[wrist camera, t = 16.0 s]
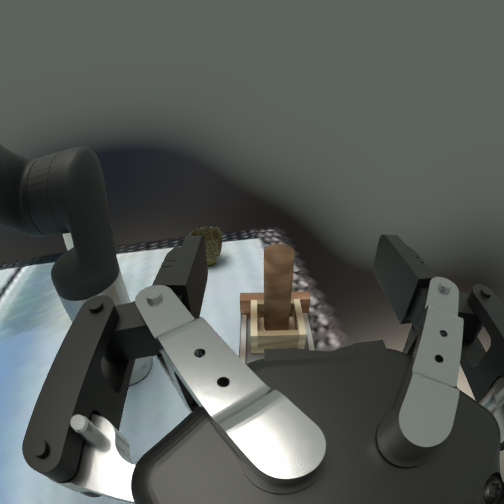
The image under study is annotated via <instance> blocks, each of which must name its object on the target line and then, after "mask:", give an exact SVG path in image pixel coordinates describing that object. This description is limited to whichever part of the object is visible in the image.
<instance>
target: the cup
mask: <svg viewBox="0 0 504 504" xmlns="http://www.w3.org/2000/svg"><path fill="white" fill-rule="evenodd" d="M189 236H203V237H204V242H205V250H206V259H207V266H211V265H214V264H215V263H216V258H217V257H218V256H219V255H220V252H221V247H222V233H221V231H220V229H218V227H215V228H214V229H213V227H210V230H209V228H207V227H205V228H203V227H201V228H200V231H199V230H198V228H197V229H196V231H193V230H192V231H191V234H189Z"/></svg>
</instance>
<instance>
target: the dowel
mask: <svg viewBox="0 0 504 504" xmlns="http://www.w3.org/2000/svg"><path fill="white" fill-rule="evenodd" d="M293 266H294V249H293V248H292V247H290V246H288V245H284V244H273V245H270V246H268V247H266V248H265V249H264V329H265V331H277V330H288V328H289V317H290V306H291V293H292V280H293Z"/></svg>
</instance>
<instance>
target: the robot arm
mask: <svg viewBox="0 0 504 504" xmlns="http://www.w3.org/2000/svg"><path fill="white" fill-rule="evenodd" d="M0 224H2V225H4V226H7V227H9V228H12V229H14V230H17V231H19V232H22V233H25V234H28V235H32V236H38V237H46V236H52V235H59V234H66V233H71V237H72V241H73V246H74V247H73V248H71V249H70V250H68V251H67V252H65V253H64V254H63V255H62V256H61V257H60V258H59V259H58V260H57V261H56V262H55V264H54V265H53V268H52V271H51V277H52V281H53V284H54V286H55V288H56V291H57V293H58V295H59V297H60V299H61V301H62V304H63V306H64V308H65V310H66V312H67V314H68V316H69V317H70V319H71V321H72V325H71V327H70V329H69V331H68V333H67V334H66V336H65V338H64V340H63V342H62V345H61V347H60V349H59V351H58V353H57V355H56V357H55V359H54V361H53V364H52V366H51V368H50V370H49V373H48V375H47V377H46V380H45V382H44V384H43V387H42V389H41V392H40V394H39V397H38V399H37V402H36V405H35V407H34V410H33V413H32V416H31V419H30V422H29V425H28V428H27V431H26V434H25V437H24V440H23V446H22V450H23V455H24V458H25V460H26V462H27V463H28V465H29V466H30V467H31V468H33V469H34V470H36V471H37V472H39V473H41V474H43V475H45V476H47V477H48V478H49V479H50V480H52V481H54V482H56V483H58V484H60V485H62V486H64V487H66V488H68V489H70V490H73V491H75V492H80V493H82V494H84V495H87V496H90V497H99V496H105V497H109V498H113V499H117V500H120V501H125V502H129V503H133V504H504V483H503V481H502V478H501V474H500V460H499V459H500V451H502V450H504V305H503V304H502V303H501V301H500V300H499V299H498V297H497V296H496V295H495V293H494V292H493V291H492V290H491V289H490V288H488V287H486V286H484V285H481V284H476V285H474V286H473V288H472V290H471V292H470V294H467V293H461V292H459V290H458V288H457V286H456V285H455V284H454V283H453V282H451V281H450V280H448V279H446V278H442V277H435V275H434V274H433V273H432V271H431V270H430V269H429V268H428V266H427V265H426V264H425V263H424V262H423V260H422V259H421V258H419V255H418V254H417V253H416V252H415V251H414V250H413V249H411V248H410V247H408V246H407V245H405V243H404V242H403V241H402V240H401V239H400V238H399V237H398V236H397V235H381V237H380V239H379V242H378V247H377V252H376V256H375V261H374V266H373V271H374V275H375V277H376V279H377V281H378V283H379V285H380V286H381V288H382V290H383V292H384V293H385V295H386V297H387V299H388V301H389V302H390V304H391V306H392V308H393V310H394V312H395V313H396V316H397V318H398V320H399V321H400V323H401V324H405V323H412V326H411V328H410V330H409V333H408V336H407V339H406V342H405V346H404V348H403V352H400V351H397V350H392V349H386V347H385V344H384V342H383V340H379V341H371V342H363V343H355V344H353V345H350V346H347V347H344V348H341V349H338V350H335V351H331V352H322V351H314V350H307V349H300V348H282V349H264V358H262V359H258V360H255V361H252V362H250V363H248V364H245V363H244V362H243V361H242V360H241V359H240V358H239V357H238V356H237V355H236V353H235V352H234V351H233V350H232V349H231V348H230V347H229V346H228V345H227V344H226V343H225V342H224V341H223V339H222V338H221V337H220V336H219V335H218V334H217V333H216V332H215V331H214V329H213V328H212V327H211V326H210V325H209V324H208V323H207V321H206V320H205V319H204V318H202V317H199V316H200V311H201V306H202V301H203V297H204V292H205V287H206V283H207V277H208V267H207V259H206V250H205V242H204V237H203V236H186V237H185V239H184V242H183V244H182V246H181V247H175V248H173V249H172V250H171V251H170V252H169V253H167V255H166V257H165V259H164V262H163V263H162V265H161V268H160V270H159V272H158V274H157V276H156V278H155V280H154V282H153V285H152V286H149V287H147V288H145V289H143V290H142V291H140V292H139V293H138V294H137V296H136V298H135V301H134V302H130V299H129V296H128V293H127V290H126V287H125V284H124V281H123V278H122V275H121V272H120V268H119V265H118V261H117V257H116V249H115V242H114V237H113V232H112V227H111V223H110V217H109V212H108V205H107V198H106V191H105V184H104V178H103V173H102V169H101V165H100V163H99V160H98V158H97V156H96V154H95V153H94V152H93V151H92V150H91V149H90V148H88V147H75V148H71V149H67V150H64V151H60V152H57V153H53V154H50V155H47V156H44V157H40V158H35V159H29V158H25V157H22V156H19V155H17V154H15V153H13V152H12V151H10V150H8V149H6V148H4V147H3V146H2V145H0ZM483 326H484V327H485V328H486V330H487V332H488V334H489V335H490V338H491V346H490V348H489V350H488V351H487V352H486V351H485V350H484V348H483V346H482V344H481V342H480V340H479V339H478V337H477V336H478V334H479V332H480V331H481V329H482V327H483ZM154 355H156V357H157V359H158V361H159V362H160V364H161V366H162V367H163V369H164V371H165V372H166V374H167V376H168V377H169V379H170V380H171V382H172V384H173V385H174V387H175V388H176V390H177V392H178V394H179V395H180V397H181V399H182V401H183V402H184V404H185V406H186V407H187V409H188V410H189V412H190V414H189V415H188V416H187V417H186V418H185V419H184V420H183V421H182V422H181V423H180V424H178V425H177V426H176V427H175V428H174V429H173V430H172V431H171V432H170V433H168V434H167V435H166V436H165V437H164V438H163V439H162V440H160V441H159V442H158V443H157V444H156V445H155V446H153V447H152V448H151V449H150V450H149V451H147V452H146V453H145V454H144V455H143V456H142V457H141V458H140V460H139V461H138V462H137V464H136V466H135V465H133V463H132V462H131V459H130V455H129V444H128V441H127V440H126V438H125V437H124V436H123V435H122V434H121V433H120V432H119V427H120V422H121V417H122V412H123V408H124V404H125V399H126V395H127V391H128V387H129V385H132V384H135V383H137V382H139V381H141V380H142V379H143V378H144V377H145V376H146V375H147V374H148V373H149V371H150V369H151V366H152V356H154ZM460 364H461V367H462V369H463V371H464V373H465V376H466V378H467V380H468V383H469V385H470V387H471V390H472V392H473V395H474V397H475V400H476V401H475V400H473V399H472V398H471V397H469V396H468V395H466V394H465V393H463V392H462V391H460V390H459V389H458V388H457V379H458V372H459V365H460Z"/></svg>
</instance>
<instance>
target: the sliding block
mask: <svg viewBox="0 0 504 504" xmlns="http://www.w3.org/2000/svg"><path fill="white" fill-rule="evenodd" d="M306 335H307V334H306V329H305V324H304V318H303V313H302V308H301V303H300V299H291V306H290V317H289V328H288V330H277V331H265V329H264V300H251V329H250V339H251V353H264V349H282V348H300V349H304V346H305V340H306Z"/></svg>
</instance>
